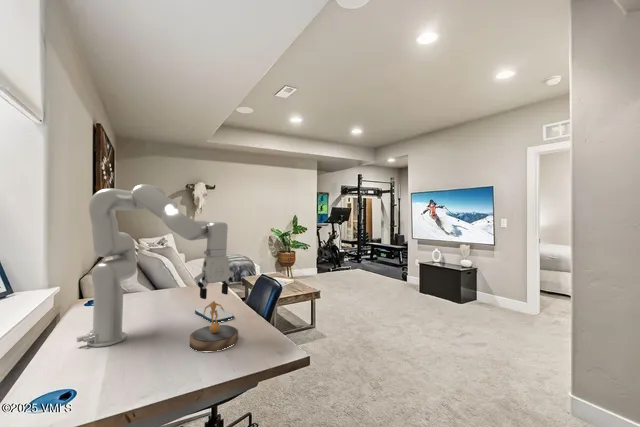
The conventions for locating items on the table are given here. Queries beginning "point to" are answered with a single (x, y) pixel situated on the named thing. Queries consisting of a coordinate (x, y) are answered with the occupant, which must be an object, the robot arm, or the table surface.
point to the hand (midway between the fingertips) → (214, 296)
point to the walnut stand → (213, 338)
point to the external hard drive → (221, 314)
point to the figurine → (214, 326)
